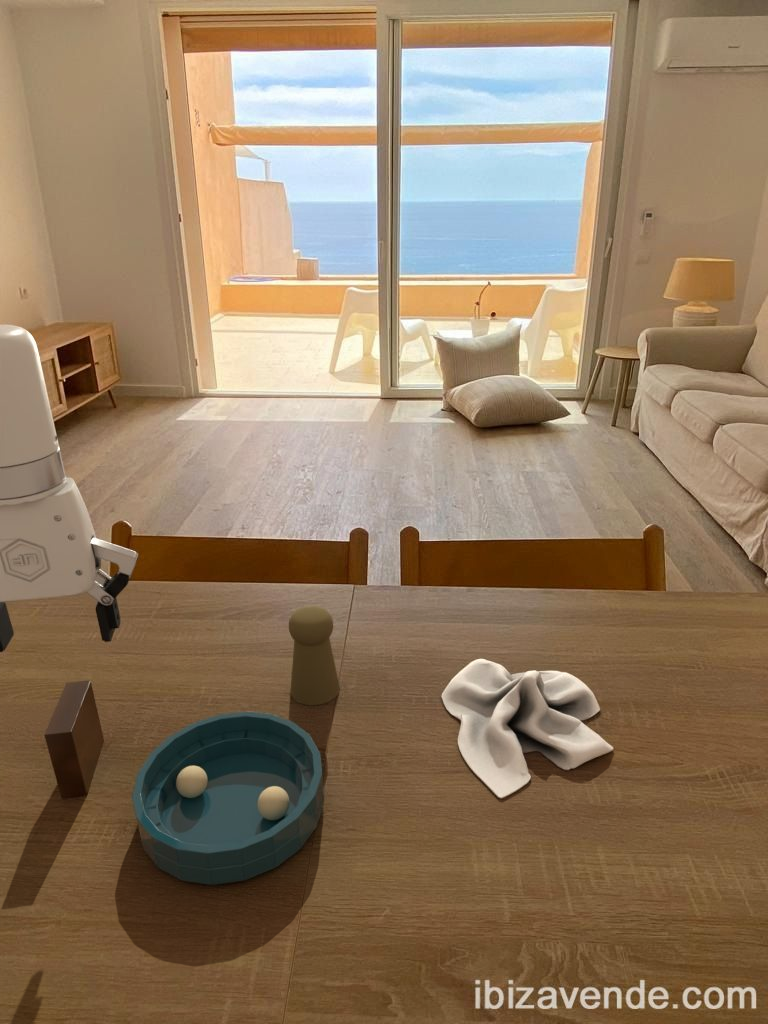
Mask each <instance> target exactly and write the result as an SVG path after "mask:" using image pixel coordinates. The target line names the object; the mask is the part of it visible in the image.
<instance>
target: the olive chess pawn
mask: <svg viewBox="0 0 768 1024" xmlns="http://www.w3.org/2000/svg"><path fill="white" fill-rule="evenodd" d="M333 630H334V619H333V616H332V615H331V613H330V611H328V610H327V608H325V607H322V606H319V605H306V606H302V607H300V608H298V609H296V610H294V612H293V613H292V614H291V616H290V618H289V621H288V632H289V634H290V636H291V638H292V640H293V653H292V667H291V679H290V695H291V697H292V699H293V700H294V701H296V702H297V703H299V704H302V705H307V706H320V705H324V704H327V703H329V702H330V701H333V700H334V699H335V698H336V697H337V696H338V695H339V693H340V690H341V688H340V687H341V686H340V681H339V676H338V671H337V667H336V662H335V661H336V660H335V656H334V653H333V647H332V642H331V638H330V637H331V636H332V634H333V632H334V631H333Z"/></svg>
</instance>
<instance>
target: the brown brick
mask: <svg viewBox="0 0 768 1024" xmlns="http://www.w3.org/2000/svg"><path fill="white" fill-rule="evenodd" d="M93 689H94V688H93V685H92V680H90V679H88V680H80V681H72V682H71V681H69V682H65V684H64V687H63V689H62V692H61V694H60V697H59V699H58V701H57V704H56V706H55V708H54V711H53V713H52V715H51V717H50V720H49V722H48V725H47V727H46V730H45V732H44V734H43V736H44V739H45V743H46V746H47V750H48V754H49V758H50V761H51V765H52V768H53V769H52V770H53V772H54V777H55V780H56V784H57V787H58V791H59V795H60V798H61V799H67V798H75V797H83V796H88V793H89V790H90V788H91V784H92V781H93V777H94V774H95V770H96V767H97V764H98V761H99V758H100V755H101V751H102V748H103V744H104V740H105V738H104V734H103V729H102V725H101V721H100V715H99V712H98V707H97V703H96V699H95V693H94V690H93Z"/></svg>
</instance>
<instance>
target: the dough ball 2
mask: <svg viewBox="0 0 768 1024" xmlns="http://www.w3.org/2000/svg"><path fill="white" fill-rule="evenodd" d="M288 808H289V796H288V794H287V793H286V791H285V790H284V789H282V788H281V787H277V786H272V787H268V788H267V789H265V790H264V791H263V792H262V793H261V794H260V796H259V799H258V810H259V812H260V814H261V815H262V816H263V817H264V818H266V819H268V820H277V819H280V818H281V817H283V816H284V815H285V814H286V812H287V811H288Z"/></svg>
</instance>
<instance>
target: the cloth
mask: <svg viewBox="0 0 768 1024" xmlns="http://www.w3.org/2000/svg"><path fill="white" fill-rule="evenodd" d="M441 700H442V703H443V705H444V707H445V709H446V711H447V712H448V713H449V714H450V715H451V716H452V717H455V718H456V719H458V720H459V721H460V727H459V732H458V735H457V746H458V749H459V752H460V755H461V756H462V758H463V759H464V761H465V763H466V764H467V766H468V767H469V768H470V770H471V771H472V772H473V773H474V774H475V776H477V777H478V779H479V780H481V782H483V783H484V784H485V785H486V786H487V788H488V789H490V791H492V793H493V794H494V795H495V796H496V797H497V798H499V799H504V798H506V797H508V796H510V795H512V794H514V793H515V792H517V791H519V790H520V789H522V788H523V787H524V786H525V785H527V784H528V783H529V781H530V780H531V779H532V778H531V774H530V773H529V768H528V764H527V761H526V759H525V757H524V754H526V753H533V752H538V753H541V754H542V756H544V757H545V758H546V759H548V760H550V761H551V762H552V763H553V764H555V765H556V766H557V767H558V768H559V769H562V770H564V771H569V770H570V769H575V768H577V767H579V766H581V765H583V764H584V763H586V762H589V761H591V760H593V759H595V758H597V757H601V756H603V755H606V754H609V753H611V752H612V751H613V750H614V747H613V745H611V744H609V743H608V742H607V741H606V740H605V739H604V738H603V737H602V736H601V735H600V734H598V733H596V732H595V731H594V730H593V729H591V728H590V727H588V726H587V725H586V724H584V722H583V721H586V720H589V719H590V718H592V717H593V716H595V715H596V714H598V712H600V710H601V707H600V705H599V702H598V701H597V698H596V696H595V694H594V692H593V691H592V690H591V689H590V687H588V685H587V684H585V683H584V681H582V680H580V679H579V678H577V677H576V676H574V675H573V674H571V673H568V672H566V671H559V670H539V671H538V670H536V669H535V670H528V671H525V672H524V671H523V672H516V673H512V674H511V673H510V672H509V671H508V670H507V669H506V667H504V666H503V665H502V664H500V663H497V662H494V661H491V660H487V659H484V658H478V659H477V658H476V659H474V660H473V661H470V662H469V663H468V664H467V665H466V666H464V668H462V669H461V670H460V671H459V672H458V673H457V674H455V676H454V677H452V678H451V680H450V681H449V683H448V684H447V686H446V687H445V688H444V690H443V691H442V693H441Z"/></svg>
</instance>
